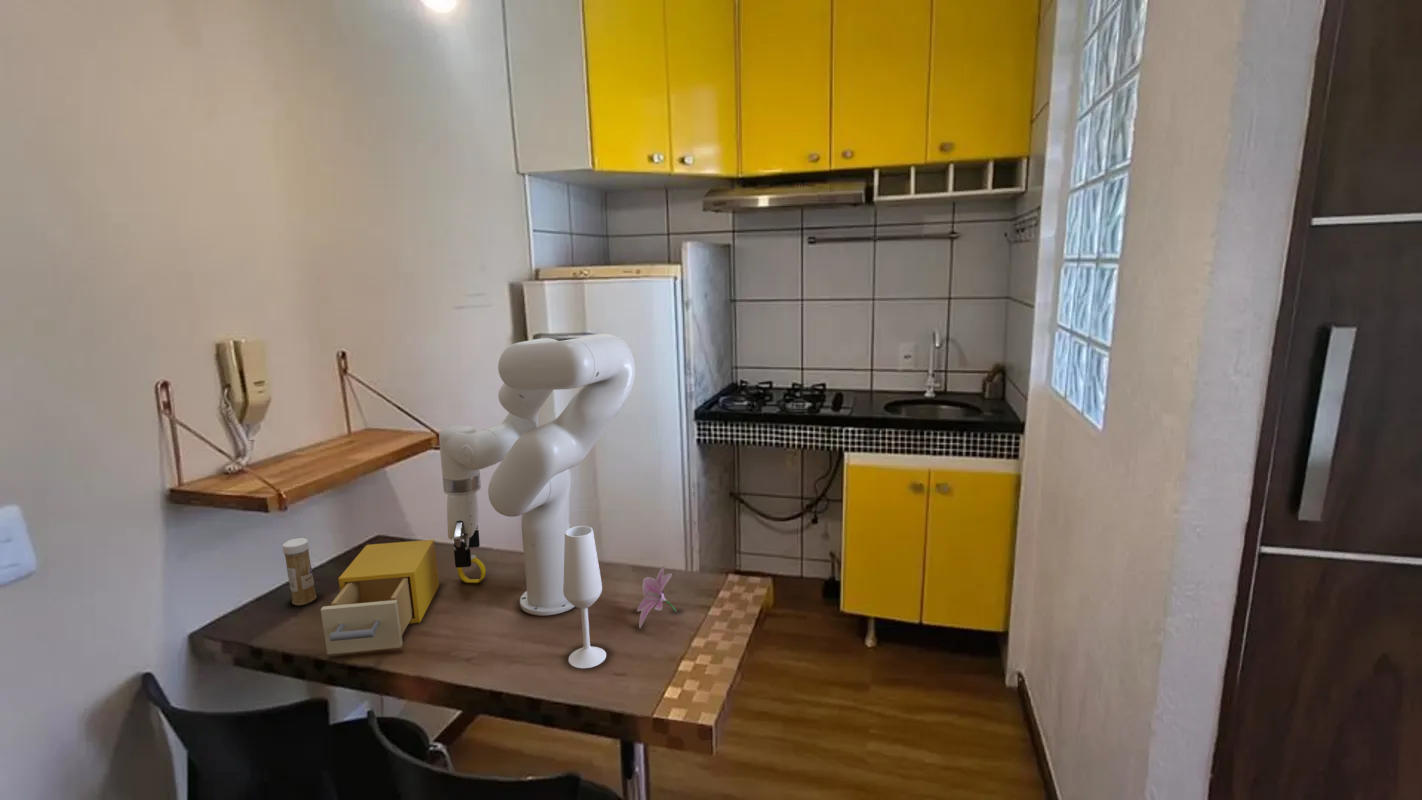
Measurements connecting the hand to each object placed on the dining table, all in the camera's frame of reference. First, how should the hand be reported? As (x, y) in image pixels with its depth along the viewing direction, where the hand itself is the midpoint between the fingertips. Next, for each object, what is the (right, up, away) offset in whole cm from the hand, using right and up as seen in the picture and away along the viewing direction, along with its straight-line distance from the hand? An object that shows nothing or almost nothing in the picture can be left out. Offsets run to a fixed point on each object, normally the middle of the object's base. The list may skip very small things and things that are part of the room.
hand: (468, 556), depth 149 cm
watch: (+1, -6, +1) cm, 6 cm away
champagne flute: (+32, -12, -28) cm, 44 cm away
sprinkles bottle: (-33, -8, -6) cm, 34 cm away
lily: (+43, -9, -15) cm, 46 cm away
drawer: (-10, -10, -22) cm, 26 cm away
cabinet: (-12, -8, -9) cm, 17 cm away
